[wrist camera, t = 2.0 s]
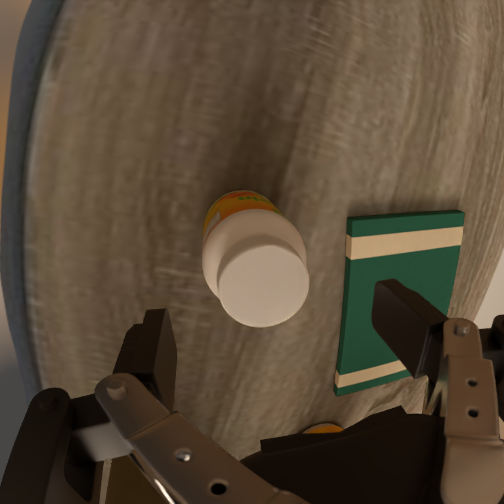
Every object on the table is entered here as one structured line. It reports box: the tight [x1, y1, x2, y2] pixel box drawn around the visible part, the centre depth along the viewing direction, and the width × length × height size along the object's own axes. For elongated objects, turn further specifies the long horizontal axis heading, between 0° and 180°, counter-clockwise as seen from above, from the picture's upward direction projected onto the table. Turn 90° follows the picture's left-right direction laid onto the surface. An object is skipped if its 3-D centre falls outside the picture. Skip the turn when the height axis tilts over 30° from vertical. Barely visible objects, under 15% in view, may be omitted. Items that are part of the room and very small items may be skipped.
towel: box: [334, 210, 465, 396], centre depth 27 cm, size 18×12×1 cm, turn 4°
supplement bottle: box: [202, 190, 309, 327], centre depth 18 cm, size 5×5×10 cm
